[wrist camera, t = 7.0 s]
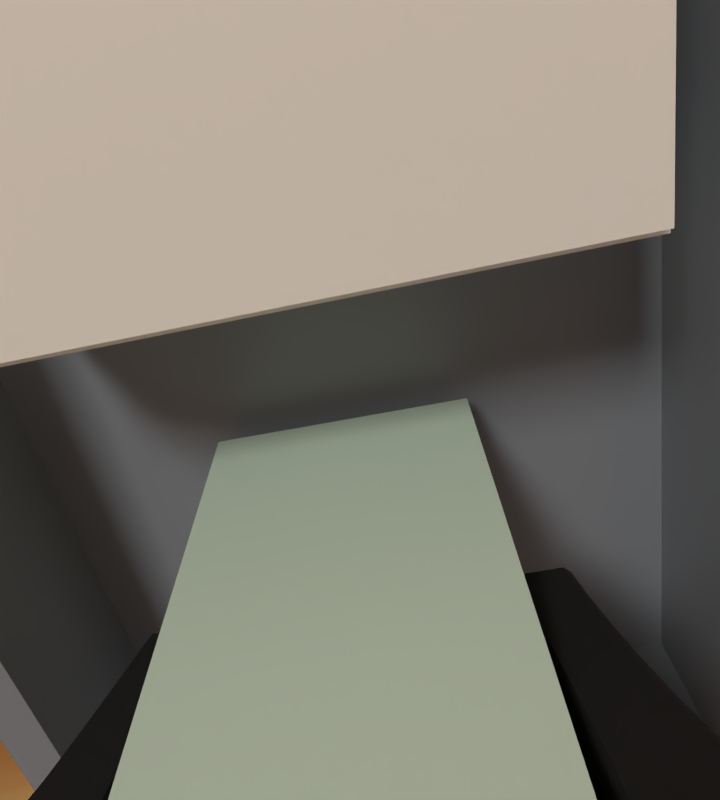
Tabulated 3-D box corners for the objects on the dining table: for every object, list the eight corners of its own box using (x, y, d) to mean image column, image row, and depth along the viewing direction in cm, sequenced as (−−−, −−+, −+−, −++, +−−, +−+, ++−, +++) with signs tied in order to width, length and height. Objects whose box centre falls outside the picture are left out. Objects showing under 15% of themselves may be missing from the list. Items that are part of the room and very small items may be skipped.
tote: (713, -931, 6) (1162, -2156, 3) (681, 635, 16) (778, 803, 12) (-476, -529, 7) (-1229, -1065, 4) (155, 715, 17) (102, 891, 13)
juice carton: (469, 395, 11) (663, 975, 4) (494, 585, 14) (650, 1177, 7) (214, 440, 12) (23, 1041, 5) (278, 618, 14) (210, 1214, 7)
